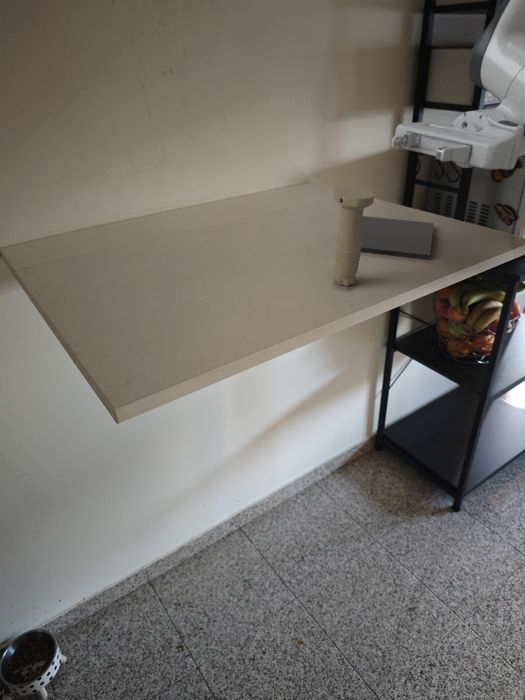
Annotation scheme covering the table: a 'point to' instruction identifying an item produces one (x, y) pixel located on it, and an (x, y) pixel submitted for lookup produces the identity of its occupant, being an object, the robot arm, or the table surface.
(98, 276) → the table surface
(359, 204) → the handle
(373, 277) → the table surface
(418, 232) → the dark grey square plate
